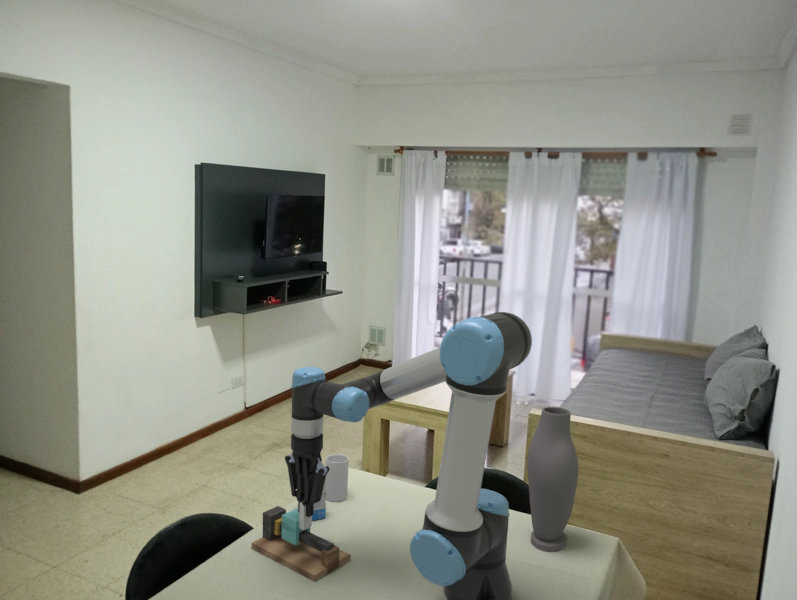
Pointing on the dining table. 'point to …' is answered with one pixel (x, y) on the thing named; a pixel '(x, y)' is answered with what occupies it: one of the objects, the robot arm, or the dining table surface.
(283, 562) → the cradle board
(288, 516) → the sleeve
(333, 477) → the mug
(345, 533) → the dining table surface
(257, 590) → the dining table surface
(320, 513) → the ink box
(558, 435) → the vase
